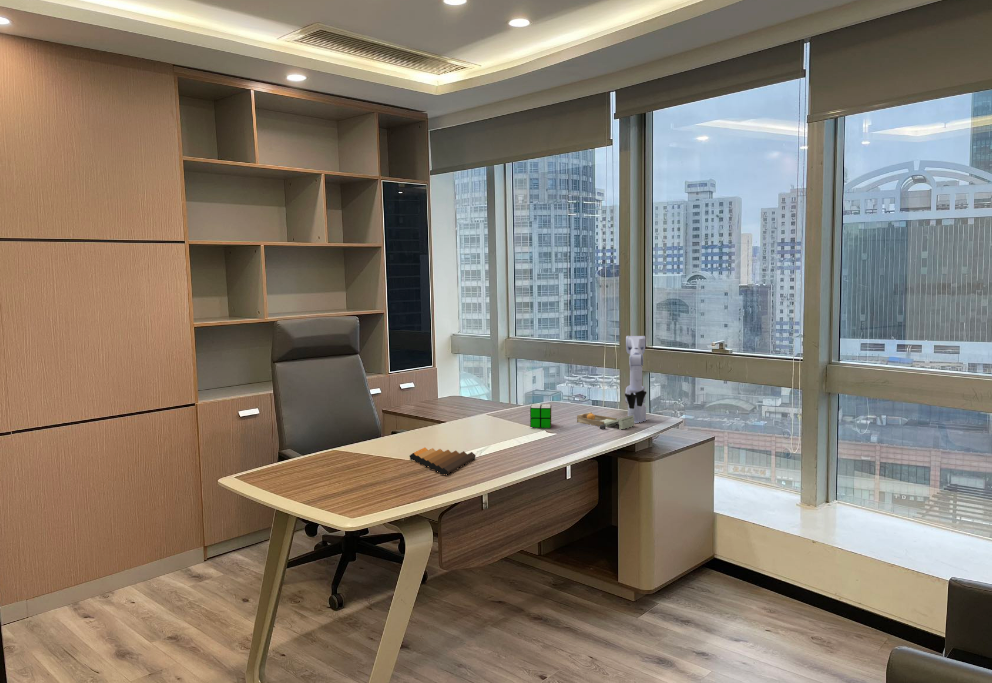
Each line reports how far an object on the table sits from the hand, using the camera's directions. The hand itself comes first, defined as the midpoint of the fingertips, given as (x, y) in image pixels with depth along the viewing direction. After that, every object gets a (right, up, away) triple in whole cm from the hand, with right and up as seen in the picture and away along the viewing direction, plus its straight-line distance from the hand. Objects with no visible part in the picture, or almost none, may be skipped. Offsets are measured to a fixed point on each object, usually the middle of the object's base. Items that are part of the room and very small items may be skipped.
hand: (635, 407), depth 339 cm
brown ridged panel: (-92, -17, -62) cm, 112 cm away
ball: (-20, -6, +15) cm, 25 cm away
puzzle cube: (-45, -10, +6) cm, 47 cm away
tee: (-16, -10, -1) cm, 19 cm away
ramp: (-9, -10, +5) cm, 14 cm away
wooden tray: (-17, -9, +12) cm, 23 cm away
